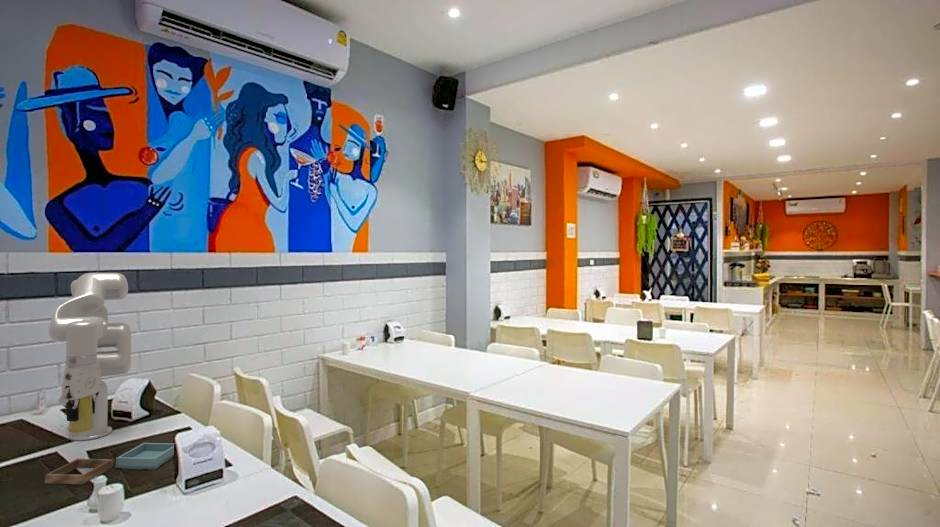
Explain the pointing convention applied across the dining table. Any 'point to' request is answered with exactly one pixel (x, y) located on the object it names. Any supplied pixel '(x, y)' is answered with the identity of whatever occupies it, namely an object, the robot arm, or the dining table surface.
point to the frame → (63, 478)
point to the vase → (83, 416)
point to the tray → (146, 456)
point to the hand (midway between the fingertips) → (81, 416)
